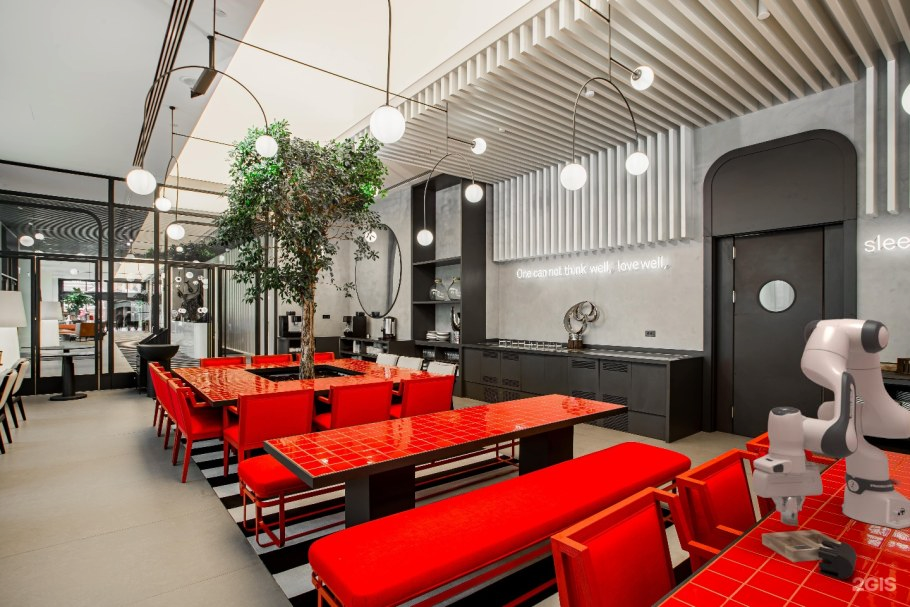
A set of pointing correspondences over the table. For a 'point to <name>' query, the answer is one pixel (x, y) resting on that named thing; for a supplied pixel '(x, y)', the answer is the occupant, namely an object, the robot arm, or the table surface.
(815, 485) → the robot arm
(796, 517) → the metal pin
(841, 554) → the end cap
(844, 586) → the table surface
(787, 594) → the table surface
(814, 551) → the beige rectangular frame
